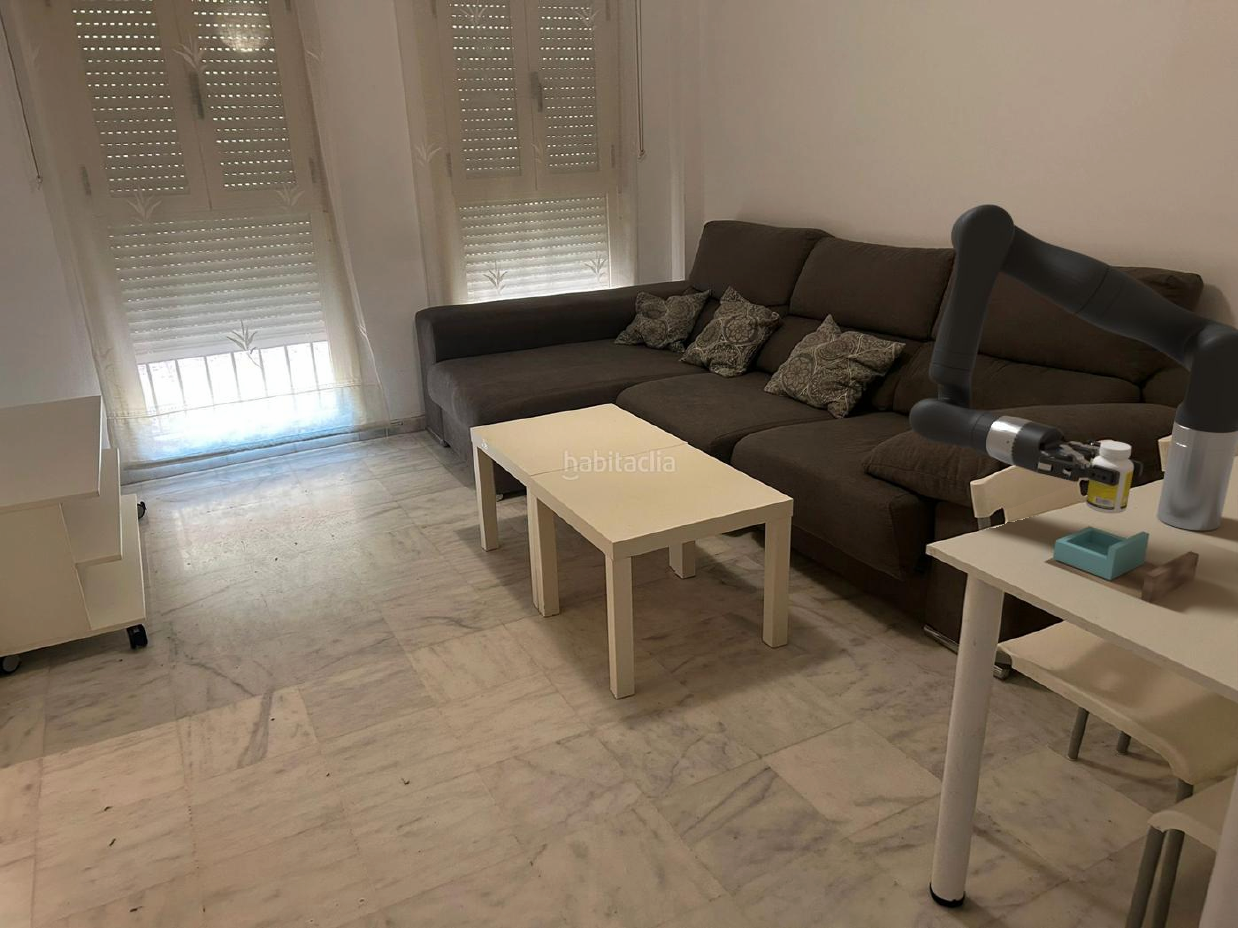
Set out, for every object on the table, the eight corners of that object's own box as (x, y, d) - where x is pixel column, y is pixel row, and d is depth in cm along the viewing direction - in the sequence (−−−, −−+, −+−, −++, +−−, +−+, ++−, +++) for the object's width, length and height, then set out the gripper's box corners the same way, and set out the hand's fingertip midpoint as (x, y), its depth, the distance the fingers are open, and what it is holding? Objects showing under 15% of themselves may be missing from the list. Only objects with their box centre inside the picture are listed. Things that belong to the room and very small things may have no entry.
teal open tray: (1086, 543, 142) (1091, 514, 140) (1143, 563, 135) (1149, 533, 133) (1053, 558, 137) (1057, 528, 136) (1110, 580, 130) (1115, 549, 129)
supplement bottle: (1113, 499, 136) (1124, 438, 132) (1133, 514, 131) (1145, 451, 127) (1078, 500, 136) (1088, 440, 132) (1097, 515, 131) (1108, 452, 127)
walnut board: (1087, 550, 144) (1092, 518, 142) (1192, 587, 131) (1199, 553, 129) (1042, 570, 138) (1047, 537, 136) (1147, 612, 125) (1154, 576, 123)
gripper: (999, 430, 137) (1106, 460, 124) (1054, 413, 145) (1161, 440, 131) (993, 475, 140) (1097, 510, 127) (1047, 456, 147) (1152, 487, 134)
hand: (1129, 474), depth 129 cm, fingers closed on supplement bottle, 5 cm apart
